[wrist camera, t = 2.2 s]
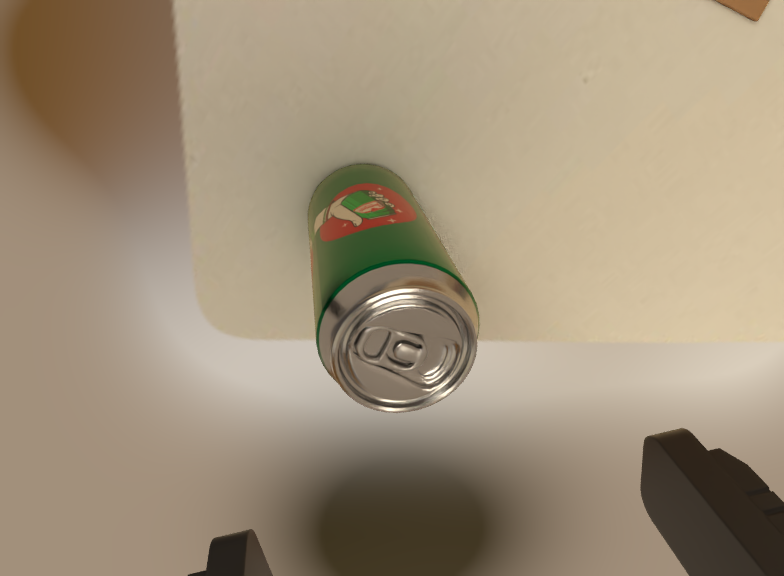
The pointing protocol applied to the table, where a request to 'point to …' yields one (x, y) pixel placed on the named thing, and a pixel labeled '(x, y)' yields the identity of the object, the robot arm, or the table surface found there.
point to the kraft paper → (746, 7)
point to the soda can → (386, 294)
